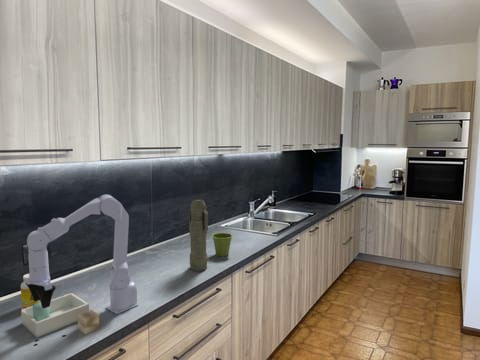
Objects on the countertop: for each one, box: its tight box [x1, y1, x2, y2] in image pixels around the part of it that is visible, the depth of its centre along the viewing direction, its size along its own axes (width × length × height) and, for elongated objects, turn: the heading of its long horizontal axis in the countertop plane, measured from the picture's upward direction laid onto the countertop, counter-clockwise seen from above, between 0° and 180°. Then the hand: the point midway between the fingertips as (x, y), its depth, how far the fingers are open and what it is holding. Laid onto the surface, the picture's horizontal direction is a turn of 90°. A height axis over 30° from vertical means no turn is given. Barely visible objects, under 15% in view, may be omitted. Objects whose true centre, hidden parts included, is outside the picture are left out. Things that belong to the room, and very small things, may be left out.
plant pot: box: [211, 232, 233, 257], centre depth 193 cm, size 12×12×11 cm
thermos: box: [188, 198, 209, 272], centre depth 171 cm, size 9×12×35 cm
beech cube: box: [77, 309, 100, 335], centre depth 117 cm, size 5×5×5 cm
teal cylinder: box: [33, 302, 50, 322], centre depth 118 cm, size 5×5×7 cm
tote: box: [20, 292, 90, 339], centre depth 122 cm, size 18×14×5 cm
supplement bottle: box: [20, 272, 41, 310], centre depth 131 cm, size 7×7×13 cm
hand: (41, 303), depth 118 cm, fingers open, 7 cm apart
